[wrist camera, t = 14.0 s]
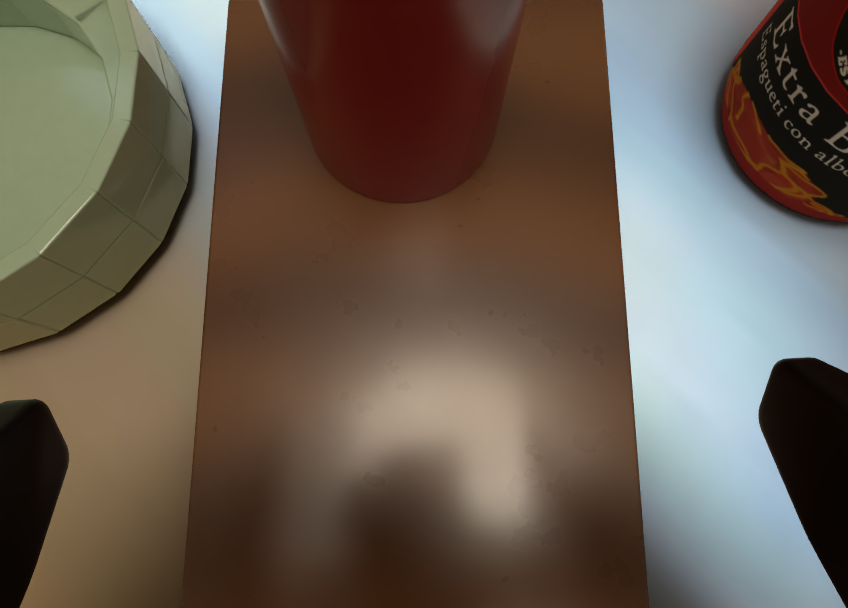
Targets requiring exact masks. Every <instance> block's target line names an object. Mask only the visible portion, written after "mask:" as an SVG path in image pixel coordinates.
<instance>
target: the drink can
mask: <svg viewBox="0 0 848 608" xmlns="http://www.w3.org/2000/svg"><path fill="white" fill-rule="evenodd" d="M258 1H259V3H260V6H261V9H262V11H263V14H264V17H265V19H266V22H267V25H268V27H269V30H270V33H271V36H272V38H273V41H274V44H275V46H276V49H277V52H278V54H279V57H280V60H281V62H282V65H283V68H284V71H285V73H286V76H287V79H288V81H289V84H290V87H291V89H292V92H293V95H294V97H295V100H296V103H297V106H298V108H299V111H300V114H301V116H302V119H303V122H304V124H305V127H306V130H307V132H308V135H309V138H310V141H311V143H312V146H313V148H314V150H315V152H316V154H317V156H318V158H319V160H320V161H321V163H322V164H323V165H324V167H325V168H326V169H327V170H328V171H329V172H330V174H331V175H332V176H333V177H334V178H336V179H337V180H338V181H339V182H341V183H342V184H343V185H345V186H346V187H348V188H349V189H351V190H353V191H355V192H357V193H359V194H361V195H363V196H366V197H369V198H372V199H376V200H380V201H386V202H395V203H408V202H418V201H423V200H428V199H431V198H434V197H437V196H440V195H442V194H445V193H447V192H449V191H451V190H453V189H454V188H456V187H457V186H459V185H460V184H462V183H463V182H464V181H466V180H467V179H468V178H469V177H470V176H471V175H472V174H473V173H474V172H475V171H476V170H477V169H478V168H479V167H480V165H481V164H482V162H483V161H484V159H485V158H486V157H487V155H488V152H489V150H490V148H491V146H492V144H493V141H494V137H495V134H496V130H497V126H498V122H499V117H500V113H501V109H502V105H503V100H504V96H505V92H506V88H507V84H508V79H509V75H510V71H511V67H512V62H513V58H514V54H515V50H516V46H517V41H518V37H519V33H520V29H521V24H522V20H523V16H524V12H525V8H526V3H527V0H258Z"/></svg>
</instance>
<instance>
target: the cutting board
mask: <svg viewBox="0 0 848 608" xmlns="http://www.w3.org/2000/svg"><path fill="white" fill-rule="evenodd" d="M181 608H649V598H648V585H647V572H646V559H645V546H644V533H643V520H642V507H641V494H640V481H639V468H638V455H637V442H636V429H635V416H634V403H633V390H632V377H631V364H630V351H629V339H628V326H627V313H626V300H625V287H624V274H623V261H622V248H621V235H620V222H619V209H618V196H617V183H616V170H615V157H614V144H613V131H612V118H611V105H610V92H609V79H608V66H607V53H606V40H605V28H604V15H603V2H602V0H527V3H526V8H525V12H524V16H523V20H522V24H521V29H520V33H519V37H518V41H517V46H516V50H515V54H514V58H513V62H512V67H511V71H510V75H509V79H508V84H507V88H506V92H505V96H504V100H503V105H502V109H501V113H500V117H499V122H498V126H497V130H496V134H495V137H494V141H493V144H492V146H491V148H490V150H489V152H488V155H487V157H486V158H485V159H484V161H483V162H482V164H481V165H480V167H479V168H478V169H477V170H476V171H475V172H474V173H473V174H472V175H471V176H470V177H469V178H468V179H467V180H466V181H464V182H463V183H462V184H460V185H459V186H457V187H456V188H454V189H453V190H451V191H449V192H447V193H445V194H442V195H440V196H437V197H434V198H431V199H428V200H423V201H418V202H408V203H395V202H386V201H380V200H376V199H372V198H369V197H366V196H363V195H361V194H359V193H357V192H355V191H353V190H351V189H349V188H348V187H346V186H345V185H343V184H342V183H341V182H339V181H338V180H337V179H336V178H334V177H333V176H332V175H331V174H330V172H329V171H328V170H327V169H326V168H325V167H324V165H323V164H322V163H321V161H320V160H319V158H318V156H317V154H316V152H315V150H314V148H313V146H312V143H311V141H310V138H309V135H308V132H307V130H306V127H305V124H304V122H303V119H302V116H301V114H300V111H299V108H298V106H297V103H296V100H295V97H294V95H293V92H292V89H291V87H290V84H289V81H288V79H287V76H286V73H285V71H284V68H283V65H282V62H281V60H280V57H279V54H278V52H277V49H276V46H275V44H274V41H273V38H272V36H271V33H270V30H269V27H268V25H267V22H266V19H265V17H264V14H263V11H262V9H261V6H260V3H259V1H258V0H229V5H228V18H227V31H226V44H225V56H224V69H223V82H222V95H221V107H220V120H219V133H218V146H217V158H216V171H215V184H214V197H213V209H212V222H211V235H210V248H209V260H208V273H207V286H206V299H205V311H204V324H203V337H202V350H201V362H200V375H199V388H198V401H197V413H196V426H195V439H194V452H193V464H192V477H191V490H190V503H189V516H188V528H187V541H186V554H185V567H184V579H183V592H182V605H181Z"/></svg>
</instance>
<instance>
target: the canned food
mask: <svg viewBox="0 0 848 608" xmlns="http://www.w3.org/2000/svg"><path fill="white" fill-rule="evenodd" d="M721 112H722V121H723V130H724V133H725V136H726V139H727V142H728V145H729V148H730V151H731V152H732V154H733V156H734V158H735V159H736V161H737V163H738V164H739V166H740V168H741V169H742V170H743V171H744V173H745V174H746V175H747V176H748V177H749V178H750V179H751V181H752V182H753V183H754V184H755V185H756V186H757V187H759V188H760V189H761V190H762V191H764V192H765V193H766V194H767V195H769V196H770V197H771V198H772V199H774V200H776V201H777V202H779V203H781V204H783V205H785V206H787V207H789V208H790V209H792V210H794V211H797V212H800V213H803V214H806V215H809V216H812V217H815V218H819V219H826V220H832V221H838V222H848V0H778V2H777V3H776V4H775V5H774V7H773V8H772V9H771V10H770V12H769V13H768V14H767V16H766V17H765V18H764V19H763V21H762V22H761V23H760V24H759V26H758V27H757V28H756V29H755V31H754V32H753V33H752V34H751V36H750V37H749V38H748V39H747V41H746V42H745V44H744V45H743V47H742V48H741V50H740V51H739V53H738V54H737V56H736V57H735V60H734V63H733V65H732V68H731V71H730V74H729V76H728V80H727V83H726V86H725V90H724V94H723V103H722V111H721Z"/></svg>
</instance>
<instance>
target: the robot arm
mask: <svg viewBox="0 0 848 608" xmlns="http://www.w3.org/2000/svg"><path fill="white" fill-rule="evenodd" d="M759 424H760V427H761V430H762V433H763V435H764V437H765V440H766V442H767V444H768V447H769V449H770V451H771V454H772V456H773V458H774V461H775V463H776V465H777V468H778V470H779V472H780V475H781V477H782V480H783V482H784V484H785V487H786V489H787V491H788V494H789V496H790V498H791V501H792V503H793V505H794V508H795V510H796V512H797V515H798V517H799V519H800V521H801V524H802V526H803V528H804V530H805V532H806V534H807V536H808V539H809V541H810V542H811V544H812V546H813V548H814V550H815V552H816V554H817V556H818V558H819V560H820V561H821V563H822V565H823V567H824V569H825V570H826V572H827V574H828V576H829V577H830V579H831V581H832V583H833V585H834V586H835V588H836V590H837V592H838V594H839V595H840V597H841V599H842V601H843V603H844V604H845V606H846V608H848V373H846V372H844V371H842V370H840V369H838V368H836V367H834V366H832V365H829V364H827V363H825V362H823V361H821V360H819V359H816V358H789V359H782V360H780V361H778V362H777V363H776V364H775V365H774V367H773V369H772V371H771V374H770V377H769V380H768V383H767V386H766V389H765V392H764V395H763V398H762V401H761V404H760V407H759ZM68 463H69V452H68V448H67V445H66V443H65V441H64V438H63V436H62V434H61V432H60V430H59V428H58V426H57V424H56V422H55V420H54V418H53V415H52V413H51V411H50V409H49V408H48V406H47V405H46V404H45V403H44V402H42V401H40V400H36V399H32V400H14V401H6V402H3V403H1V404H0V608H19V607H20V605H21V603H22V600H23V598H24V595H25V593H26V591H27V588H28V586H29V583H30V580H31V578H32V575H33V572H34V569H35V567H36V564H37V561H38V558H39V554H40V551H41V548H42V545H43V542H44V539H45V536H46V533H47V530H48V527H49V524H50V521H51V518H52V514H53V511H54V508H55V505H56V502H57V499H58V496H59V493H60V490H61V487H62V484H63V481H64V478H65V474H66V471H67V468H68Z"/></svg>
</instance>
